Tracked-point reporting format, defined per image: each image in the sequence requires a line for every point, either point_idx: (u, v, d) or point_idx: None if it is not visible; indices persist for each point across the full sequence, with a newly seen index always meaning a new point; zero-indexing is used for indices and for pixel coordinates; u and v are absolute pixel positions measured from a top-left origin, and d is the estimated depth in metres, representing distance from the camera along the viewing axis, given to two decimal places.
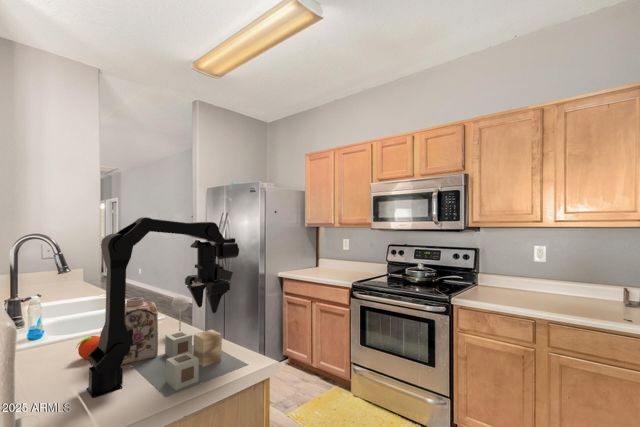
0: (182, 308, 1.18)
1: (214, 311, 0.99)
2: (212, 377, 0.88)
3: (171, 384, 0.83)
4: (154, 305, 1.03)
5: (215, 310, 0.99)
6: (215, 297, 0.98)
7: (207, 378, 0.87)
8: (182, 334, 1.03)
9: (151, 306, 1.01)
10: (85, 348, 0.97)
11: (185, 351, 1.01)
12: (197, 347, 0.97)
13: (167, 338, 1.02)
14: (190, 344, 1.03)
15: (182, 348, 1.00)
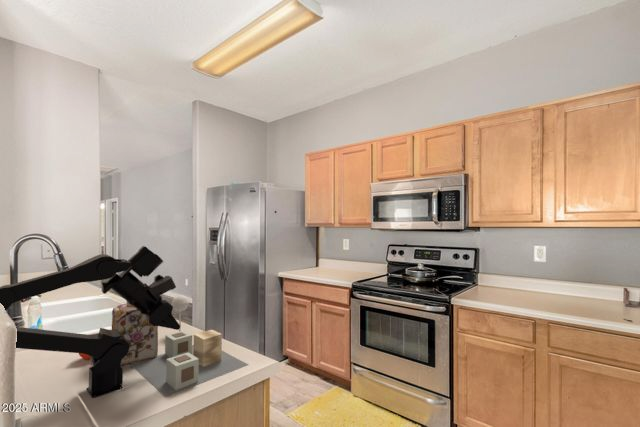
0: (182, 308, 1.18)
1: (177, 327, 0.89)
2: (212, 377, 0.88)
3: (171, 384, 0.83)
4: None
5: (178, 326, 0.89)
6: (166, 319, 0.86)
7: (207, 378, 0.87)
8: (182, 334, 1.03)
9: None
10: None
11: (185, 351, 1.01)
12: (197, 347, 0.97)
13: (167, 338, 1.02)
14: (190, 344, 1.03)
15: (182, 348, 1.00)
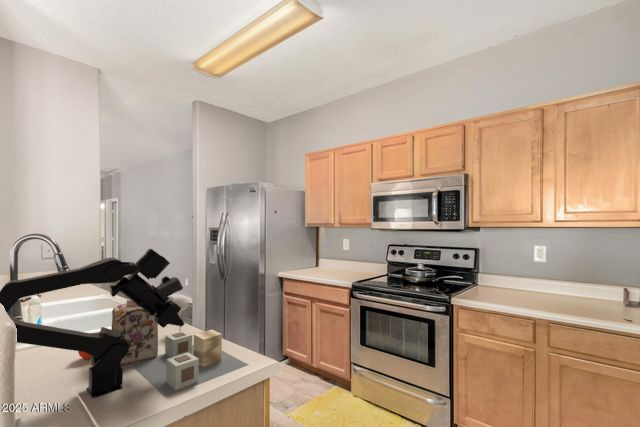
0: (182, 308, 1.18)
1: (182, 324, 0.93)
2: (212, 377, 0.88)
3: (171, 384, 0.83)
4: None
5: (182, 323, 0.93)
6: None
7: (207, 378, 0.87)
8: (182, 334, 1.03)
9: None
10: None
11: (185, 351, 1.01)
12: (197, 347, 0.97)
13: (167, 338, 1.02)
14: (190, 344, 1.03)
15: (182, 348, 1.00)
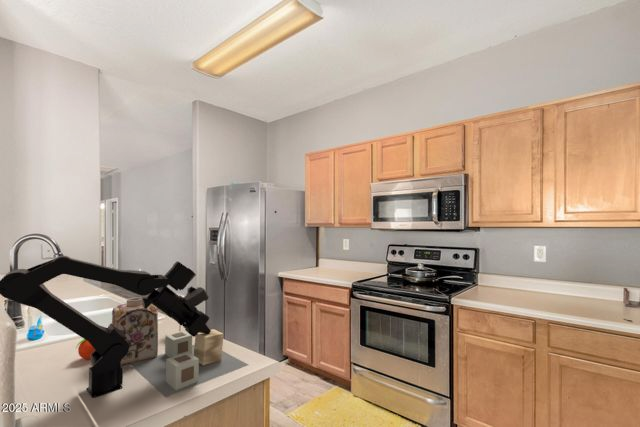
0: None
1: (208, 332, 0.98)
2: (212, 377, 0.88)
3: (171, 384, 0.83)
4: None
5: (208, 330, 0.98)
6: None
7: (207, 378, 0.87)
8: (182, 334, 1.03)
9: (151, 306, 1.01)
10: (85, 348, 0.97)
11: (185, 351, 1.01)
12: (198, 346, 0.97)
13: (167, 338, 1.02)
14: (190, 344, 1.03)
15: (182, 348, 1.00)
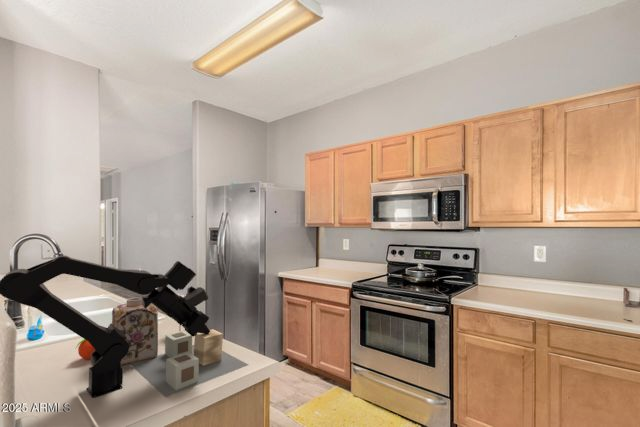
0: None
1: (207, 332, 0.98)
2: (212, 377, 0.88)
3: (171, 384, 0.83)
4: (154, 305, 1.03)
5: (208, 331, 0.98)
6: None
7: (207, 378, 0.87)
8: (182, 334, 1.03)
9: (151, 306, 1.01)
10: (85, 348, 0.97)
11: (185, 351, 1.01)
12: (198, 346, 0.97)
13: (167, 338, 1.02)
14: (190, 344, 1.03)
15: (182, 348, 1.00)
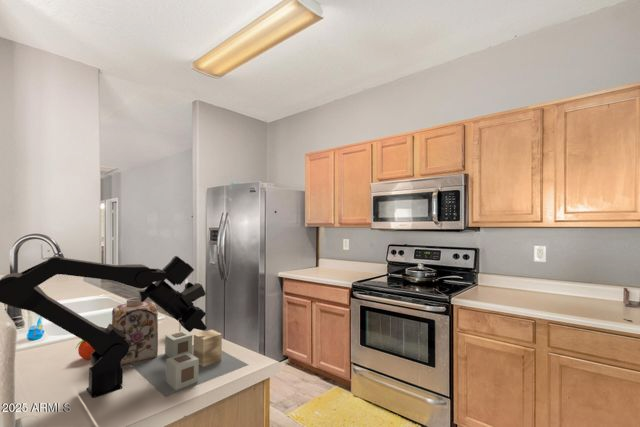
0: None
1: (204, 328, 0.97)
2: (212, 377, 0.88)
3: (171, 384, 0.83)
4: (154, 305, 1.03)
5: (204, 327, 0.97)
6: None
7: (207, 378, 0.87)
8: (182, 334, 1.03)
9: (151, 306, 1.01)
10: (85, 348, 0.97)
11: (185, 351, 1.01)
12: (197, 347, 0.97)
13: (167, 338, 1.02)
14: (190, 344, 1.03)
15: (182, 348, 1.00)
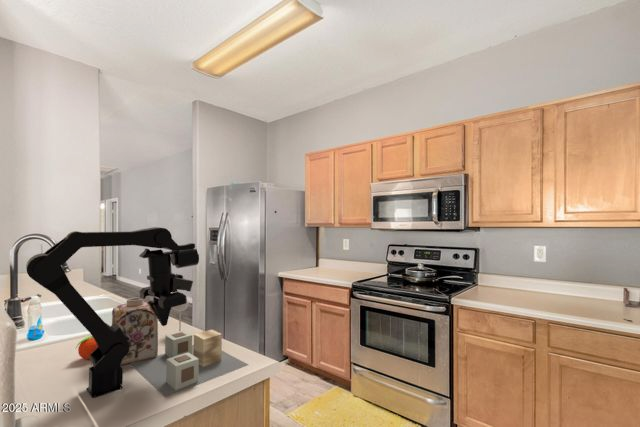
0: (182, 308, 1.18)
1: (164, 324, 0.91)
2: (212, 377, 0.88)
3: (171, 384, 0.83)
4: None
5: (165, 322, 0.91)
6: (164, 309, 0.90)
7: (207, 378, 0.87)
8: (182, 334, 1.03)
9: None
10: (85, 348, 0.97)
11: (185, 351, 1.01)
12: (197, 347, 0.97)
13: (167, 338, 1.02)
14: (190, 344, 1.03)
15: (182, 348, 1.00)
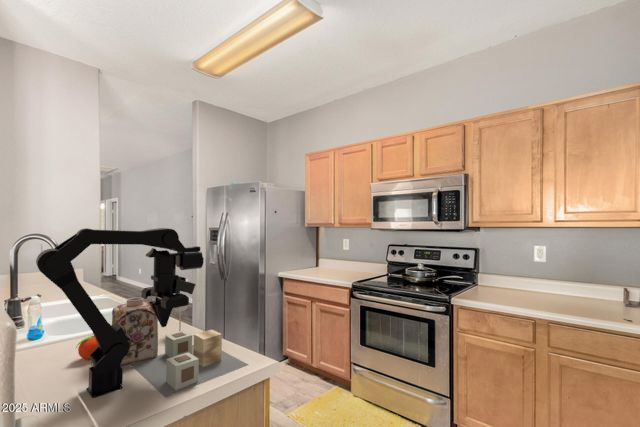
0: (182, 308, 1.18)
1: (164, 325, 0.91)
2: (212, 377, 0.88)
3: (171, 384, 0.83)
4: None
5: (165, 324, 0.91)
6: (165, 310, 0.91)
7: (207, 378, 0.87)
8: (182, 334, 1.03)
9: None
10: (85, 348, 0.97)
11: (185, 351, 1.01)
12: (197, 347, 0.97)
13: (167, 338, 1.02)
14: (190, 344, 1.03)
15: (182, 348, 1.00)
